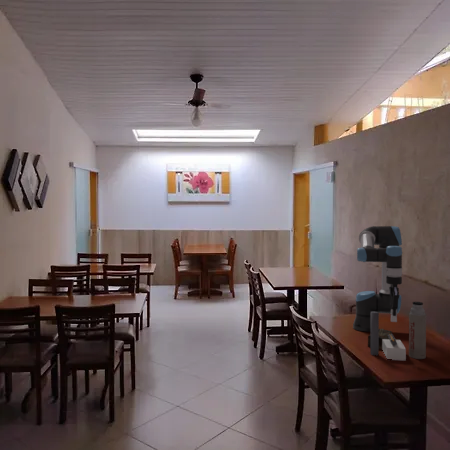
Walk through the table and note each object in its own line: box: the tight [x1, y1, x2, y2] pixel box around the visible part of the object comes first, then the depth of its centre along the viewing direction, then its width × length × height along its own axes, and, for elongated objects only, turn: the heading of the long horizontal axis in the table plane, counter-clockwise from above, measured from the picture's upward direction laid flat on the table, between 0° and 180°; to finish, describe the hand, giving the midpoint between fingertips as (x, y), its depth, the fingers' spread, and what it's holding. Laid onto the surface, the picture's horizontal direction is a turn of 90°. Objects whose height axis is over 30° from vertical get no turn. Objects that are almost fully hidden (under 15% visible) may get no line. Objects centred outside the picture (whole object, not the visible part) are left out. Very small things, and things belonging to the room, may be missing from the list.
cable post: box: [369, 312, 380, 356], centre depth 234 cm, size 4×4×22 cm
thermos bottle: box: [408, 301, 427, 360], centre depth 230 cm, size 8×8×28 cm
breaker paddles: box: [388, 333, 397, 345], centre depth 233 cm, size 10×2×3 cm, turn 169°
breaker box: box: [381, 339, 407, 362], centre depth 233 cm, size 15×9×6 cm, turn 169°
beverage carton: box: [367, 328, 393, 350], centre depth 253 cm, size 8×19×7 cm, turn 143°
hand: (393, 321), depth 232 cm, fingers closed
